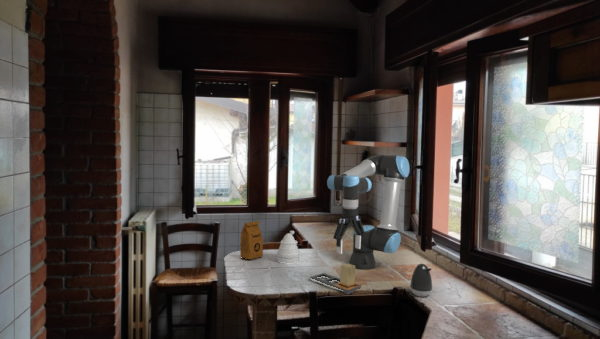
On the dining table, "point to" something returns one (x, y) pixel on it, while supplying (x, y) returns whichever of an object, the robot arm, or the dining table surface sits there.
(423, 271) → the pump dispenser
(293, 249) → the honey pot
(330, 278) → the rail
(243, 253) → the coffee package
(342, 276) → the brass peg
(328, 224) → the dining table surface
